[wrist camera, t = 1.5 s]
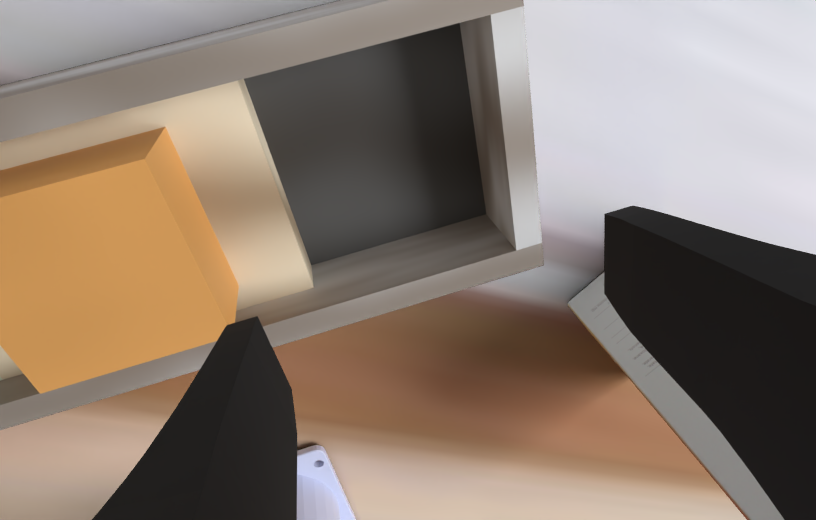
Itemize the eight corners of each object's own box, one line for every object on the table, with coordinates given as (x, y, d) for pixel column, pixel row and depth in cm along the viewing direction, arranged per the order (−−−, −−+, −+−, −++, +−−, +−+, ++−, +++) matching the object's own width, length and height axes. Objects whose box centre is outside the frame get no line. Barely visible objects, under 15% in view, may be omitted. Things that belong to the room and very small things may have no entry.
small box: (561, 302, 26) (779, 562, 15) (668, 213, 24) (996, 426, 13) (635, 378, 30) (849, 628, 19) (730, 306, 28) (1020, 527, 17)
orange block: (238, 285, 19) (233, 336, 16) (72, 334, 19) (40, 393, 16) (165, 126, 16) (144, 158, 13) (-38, 180, 15) (-100, 224, 13)
